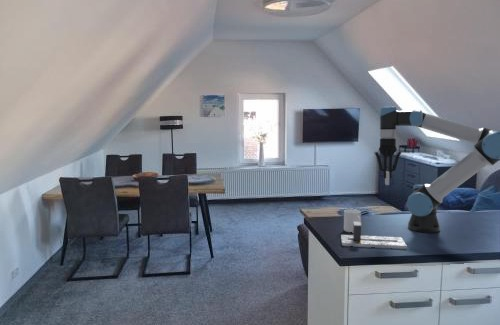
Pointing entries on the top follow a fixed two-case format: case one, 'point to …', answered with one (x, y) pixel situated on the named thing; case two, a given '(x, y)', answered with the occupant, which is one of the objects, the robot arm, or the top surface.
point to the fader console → (374, 242)
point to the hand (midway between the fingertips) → (387, 184)
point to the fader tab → (357, 230)
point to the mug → (351, 219)
